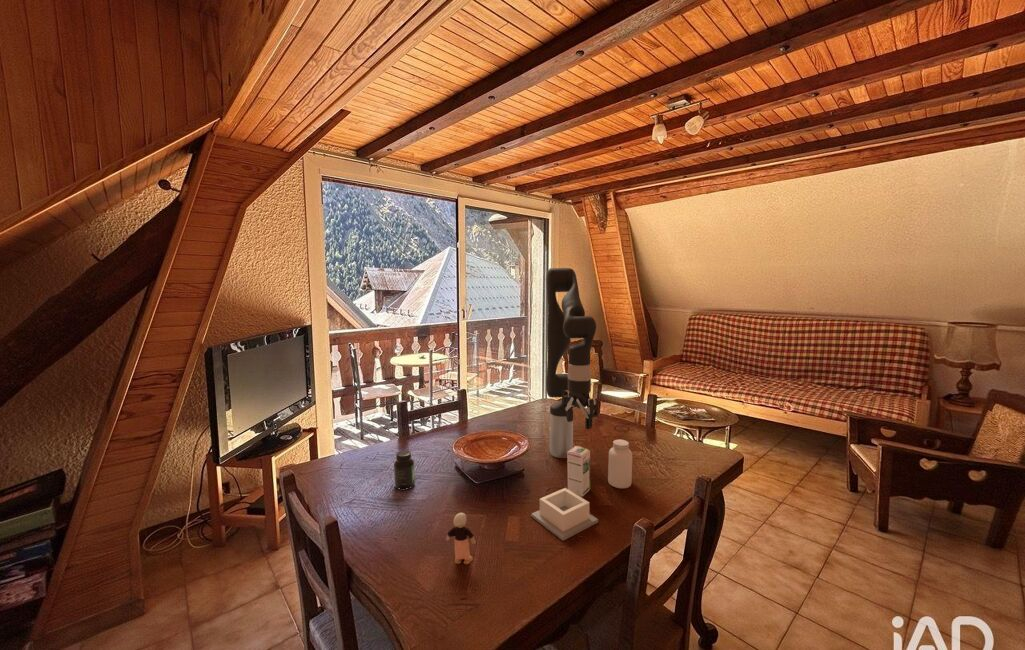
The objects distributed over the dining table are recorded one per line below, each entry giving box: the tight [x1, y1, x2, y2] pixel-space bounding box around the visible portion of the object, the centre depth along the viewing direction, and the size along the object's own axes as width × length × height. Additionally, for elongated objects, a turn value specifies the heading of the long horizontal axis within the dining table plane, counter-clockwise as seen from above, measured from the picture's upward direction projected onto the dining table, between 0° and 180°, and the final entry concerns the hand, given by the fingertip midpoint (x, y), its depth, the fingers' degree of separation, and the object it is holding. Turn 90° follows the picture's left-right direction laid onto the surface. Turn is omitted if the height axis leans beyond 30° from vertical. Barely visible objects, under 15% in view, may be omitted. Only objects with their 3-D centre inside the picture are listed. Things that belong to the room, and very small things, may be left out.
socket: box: [530, 487, 599, 542], centre depth 120 cm, size 14×14×6 cm
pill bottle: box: [607, 439, 633, 489], centre depth 140 cm, size 8×8×15 cm
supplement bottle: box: [393, 449, 416, 489], centre depth 140 cm, size 7×7×12 cm
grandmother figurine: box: [445, 512, 477, 565], centre depth 103 cm, size 8×4×13 cm, turn 92°
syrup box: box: [566, 445, 591, 498], centre depth 135 cm, size 6×6×14 cm
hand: (579, 424), depth 133 cm, fingers open, 8 cm apart
